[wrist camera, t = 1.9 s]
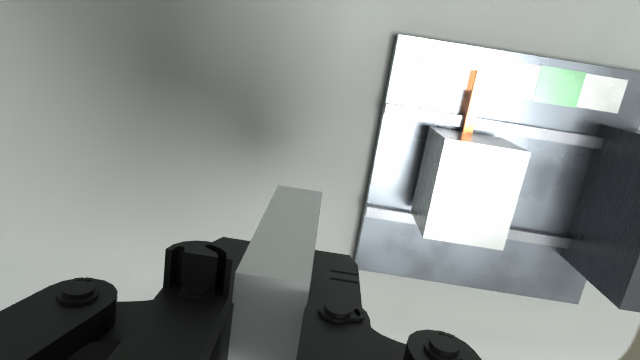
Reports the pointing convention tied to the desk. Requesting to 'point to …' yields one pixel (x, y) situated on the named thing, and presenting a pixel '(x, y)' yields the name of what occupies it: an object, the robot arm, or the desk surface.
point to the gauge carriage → (468, 182)
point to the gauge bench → (539, 181)
